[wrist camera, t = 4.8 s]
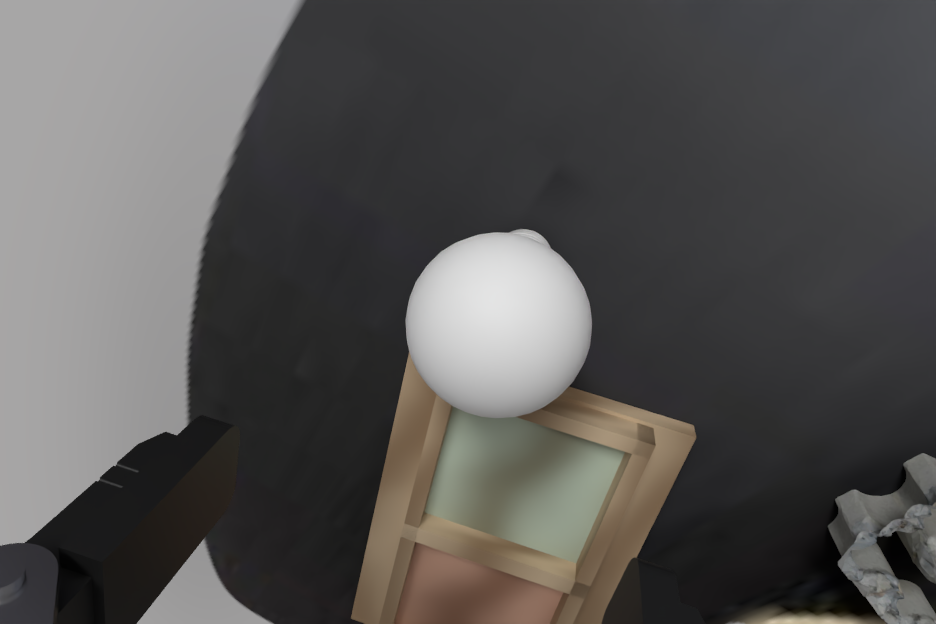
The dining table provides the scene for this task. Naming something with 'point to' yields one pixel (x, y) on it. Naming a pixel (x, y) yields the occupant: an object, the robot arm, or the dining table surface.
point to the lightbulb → (499, 324)
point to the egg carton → (905, 511)
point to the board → (513, 509)
